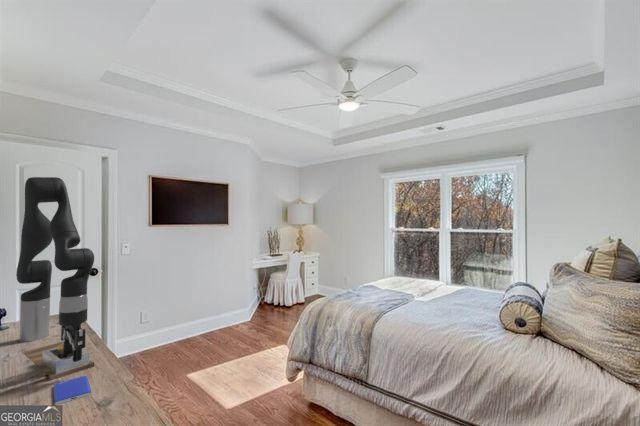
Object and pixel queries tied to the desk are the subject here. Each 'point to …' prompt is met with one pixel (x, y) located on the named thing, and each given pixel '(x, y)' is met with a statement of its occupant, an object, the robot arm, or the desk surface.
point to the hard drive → (71, 389)
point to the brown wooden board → (37, 359)
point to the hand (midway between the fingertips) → (72, 357)
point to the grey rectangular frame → (63, 360)
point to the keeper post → (61, 351)
